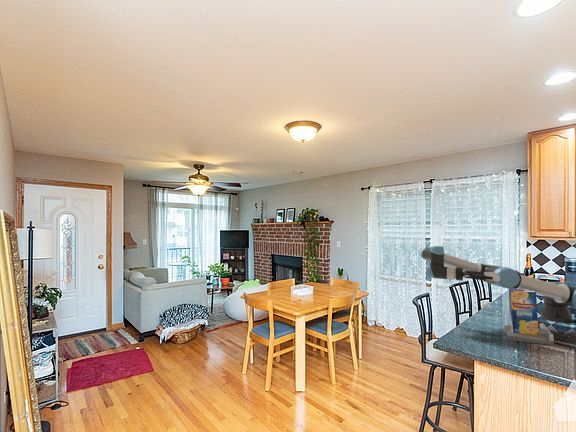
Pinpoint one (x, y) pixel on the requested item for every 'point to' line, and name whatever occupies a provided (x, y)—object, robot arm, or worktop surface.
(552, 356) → the worktop surface
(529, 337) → the shelf board
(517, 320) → the beverage box
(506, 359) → the worktop surface
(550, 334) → the price rail
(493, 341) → the worktop surface
